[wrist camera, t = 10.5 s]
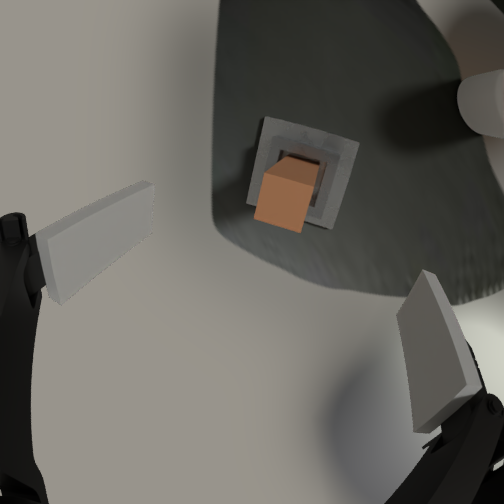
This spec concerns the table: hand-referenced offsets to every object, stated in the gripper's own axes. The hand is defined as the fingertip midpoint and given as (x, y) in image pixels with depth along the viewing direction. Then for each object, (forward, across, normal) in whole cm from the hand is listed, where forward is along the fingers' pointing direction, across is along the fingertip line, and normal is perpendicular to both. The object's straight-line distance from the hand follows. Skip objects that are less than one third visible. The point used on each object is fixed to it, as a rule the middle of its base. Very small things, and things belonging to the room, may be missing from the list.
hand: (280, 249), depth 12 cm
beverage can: (+26, +20, +17) cm, 36 cm away
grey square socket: (+25, -1, -2) cm, 25 cm away
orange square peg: (+24, -1, -2) cm, 24 cm away
